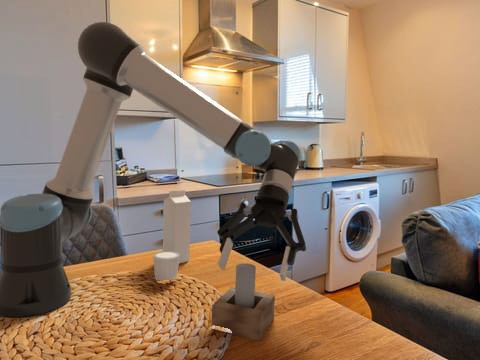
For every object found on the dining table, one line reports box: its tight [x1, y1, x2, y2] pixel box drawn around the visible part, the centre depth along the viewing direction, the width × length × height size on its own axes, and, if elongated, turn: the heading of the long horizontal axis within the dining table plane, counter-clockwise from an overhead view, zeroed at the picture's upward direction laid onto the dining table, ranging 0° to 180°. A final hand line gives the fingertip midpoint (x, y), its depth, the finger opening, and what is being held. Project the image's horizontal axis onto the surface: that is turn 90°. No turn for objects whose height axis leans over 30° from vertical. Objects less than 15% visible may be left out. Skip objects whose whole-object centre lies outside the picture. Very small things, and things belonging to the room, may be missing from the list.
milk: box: [162, 189, 192, 264], centre depth 110 cm, size 6×6×22 cm
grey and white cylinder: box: [152, 251, 180, 281], centre depth 95 cm, size 7×7×7 cm
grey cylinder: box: [234, 263, 257, 309], centre depth 73 cm, size 4×4×12 cm
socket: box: [211, 287, 276, 342], centre depth 74 cm, size 10×10×5 cm
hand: (250, 272), depth 75 cm, fingers open, 13 cm apart
